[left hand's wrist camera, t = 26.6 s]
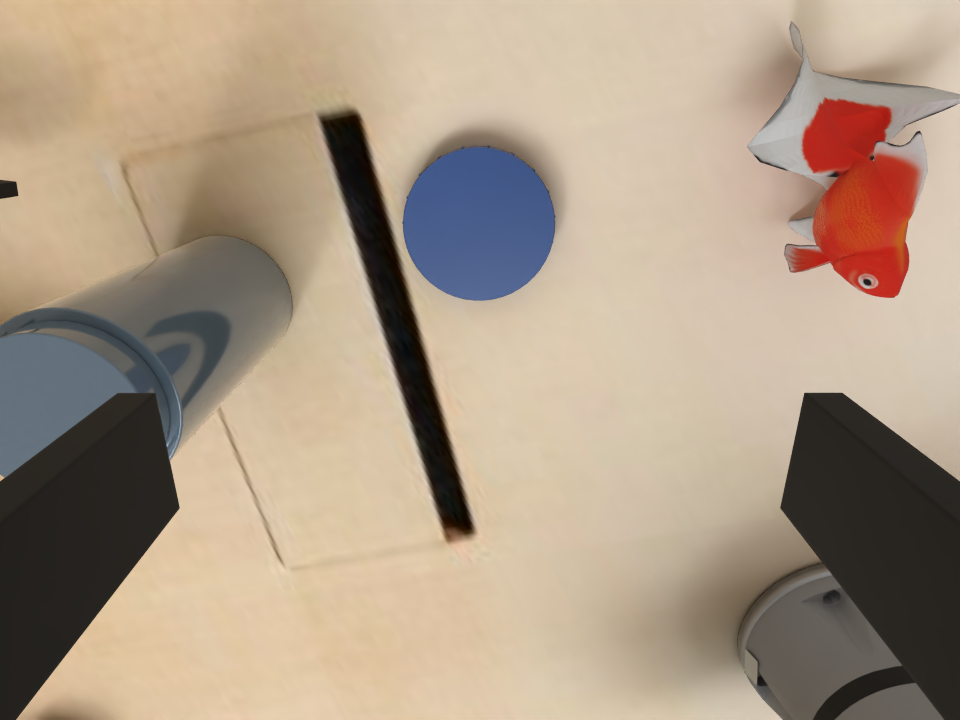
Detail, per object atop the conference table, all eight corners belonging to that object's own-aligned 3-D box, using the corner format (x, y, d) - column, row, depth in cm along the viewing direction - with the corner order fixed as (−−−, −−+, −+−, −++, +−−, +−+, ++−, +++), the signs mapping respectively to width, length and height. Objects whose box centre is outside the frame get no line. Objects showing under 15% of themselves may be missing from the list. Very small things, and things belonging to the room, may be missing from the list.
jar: (179, 360, 43) (-17, 516, 26) (151, 237, 40) (-91, 324, 23) (300, 356, 43) (184, 510, 26) (282, 232, 40) (136, 316, 23)
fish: (717, 324, 37) (863, 287, 28) (676, 76, 38) (803, -41, 29) (854, 309, 40) (1027, 272, 31) (812, 81, 42) (967, -23, 32)
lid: (515, 116, 37) (517, 116, 36) (575, 256, 40) (579, 262, 39) (379, 187, 39) (374, 190, 37) (447, 316, 42) (446, 325, 40)
